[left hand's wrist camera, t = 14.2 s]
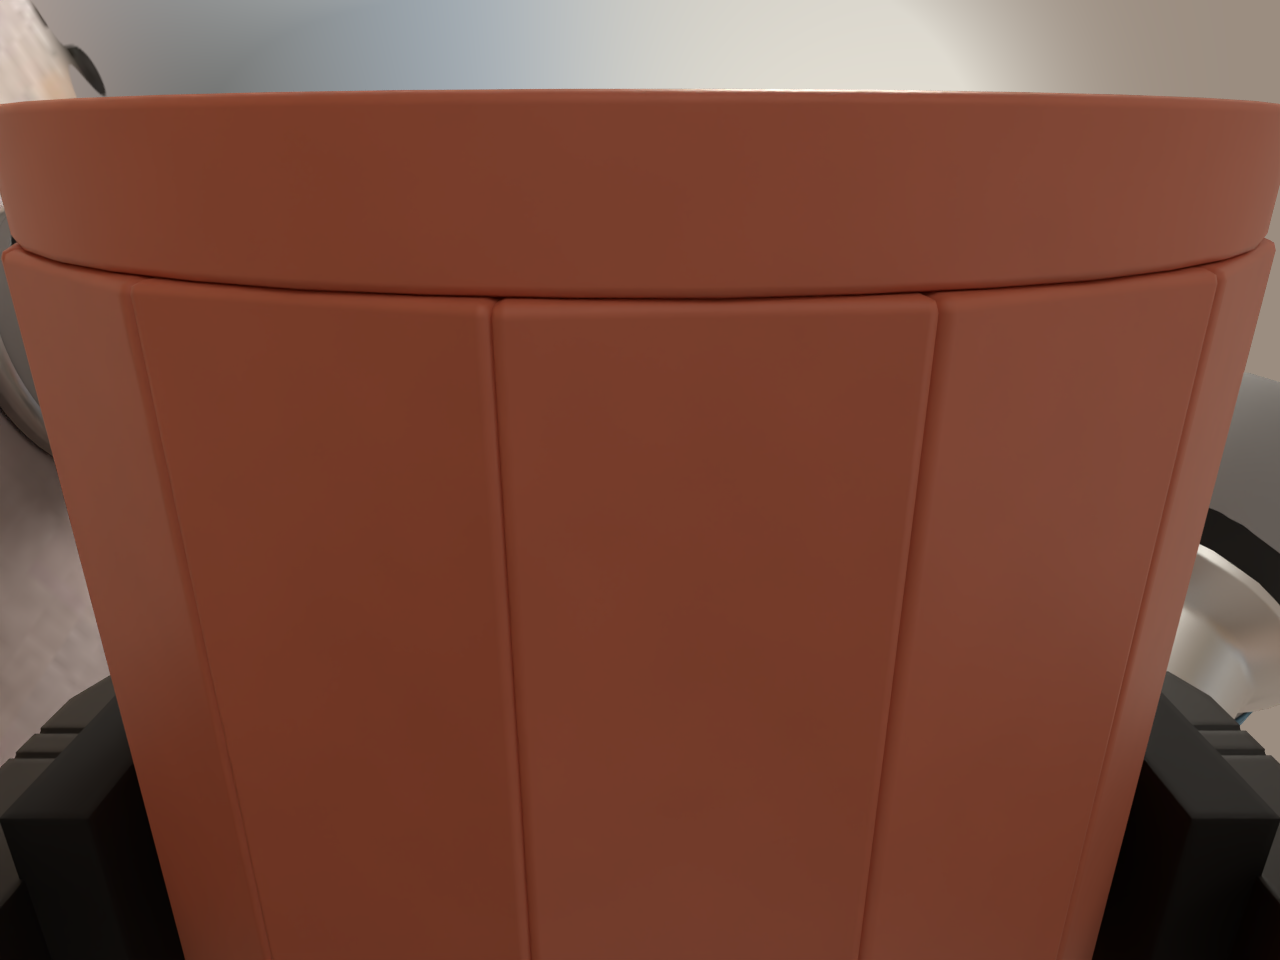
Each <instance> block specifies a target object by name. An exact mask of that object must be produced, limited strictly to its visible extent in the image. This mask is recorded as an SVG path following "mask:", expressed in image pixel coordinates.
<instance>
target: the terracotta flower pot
mask: <svg viewBox="0 0 1280 960" xmlns="http://www.w3.org/2000/svg"><path fill="white" fill-rule="evenodd" d="M1279 185H1280V104H1275V103H1267V102H1259V101H1245V100H1229V99H1214V98H1194V97H1169V96H1143V95H1114V94H1073V93H1033V92H977V91H911V90H802V89H801V90H800V89H798V90H797V89H497V90H387V91H320V92H261V93H222V94H181V95H148V96H122V97H97V98H73V99H57V100H41V101H25V102H16V103H8V104H0V194H1V197H2V201H3V205H4V209H5V213H6V217H7V221H8V225H9V229H10V233H11V235H12V237H13V238H14V239H15V240H16V243H15V244H13V245H12V246H10V247H9V248H7V249H6V250H4V251H3V252H2V257H1V260H2V263H3V267H4V271H5V275H6V279H7V283H8V286H9V290H10V294H11V298H12V302H13V305H14V309H15V313H16V317H17V321H18V324H19V328H20V332H21V336H22V340H23V343H24V347H25V351H26V355H27V359H28V363H29V366H30V370H31V374H32V378H33V382H34V385H35V389H36V393H37V397H38V401H39V404H40V408H41V412H42V416H43V420H44V424H45V427H46V431H47V435H48V439H49V443H50V446H51V450H52V454H53V458H54V462H55V465H56V469H57V473H58V477H59V481H60V484H61V488H62V492H63V496H64V500H65V504H66V507H67V511H68V515H69V519H70V523H71V526H72V530H73V534H74V538H75V542H76V545H77V549H78V553H79V557H80V561H81V565H82V568H83V572H84V576H85V580H86V584H87V587H88V591H89V595H90V599H91V603H92V606H93V610H94V614H95V618H96V622H97V626H98V629H99V633H100V637H101V641H102V645H103V648H104V652H105V656H106V660H107V664H108V667H109V671H110V675H111V679H112V683H113V686H114V690H115V694H116V698H117V702H118V706H119V709H120V713H121V717H122V721H123V725H124V728H125V732H126V736H127V740H128V744H129V747H130V751H131V755H132V759H133V763H134V767H135V770H136V774H137V778H138V782H139V786H140V789H141V793H142V797H143V801H144V805H145V808H146V812H147V816H148V820H149V824H150V828H151V831H152V835H153V839H154V843H155V847H156V850H157V854H158V858H159V862H160V866H161V869H162V873H163V877H164V881H165V885H166V888H167V892H168V896H169V900H170V904H171V908H172V911H173V915H174V919H175V923H176V927H177V930H178V934H179V938H180V942H181V946H182V949H183V953H184V957H185V960H1092V956H1093V952H1094V949H1095V945H1096V941H1097V937H1098V933H1099V929H1100V925H1101V922H1102V918H1103V914H1104V910H1105V906H1106V902H1107V898H1108V895H1109V891H1110V887H1111V883H1112V879H1113V875H1114V871H1115V868H1116V864H1117V860H1118V856H1119V852H1120V848H1121V844H1122V841H1123V837H1124V833H1125V829H1126V825H1127V821H1128V817H1129V814H1130V810H1131V806H1132V802H1133V798H1134V794H1135V790H1136V787H1137V783H1138V779H1139V775H1140V771H1141V767H1142V763H1143V760H1144V756H1145V752H1146V748H1147V744H1148V740H1149V736H1150V733H1151V729H1152V725H1153V721H1154V717H1155V713H1156V709H1157V706H1158V702H1159V698H1160V694H1161V690H1162V686H1163V682H1164V679H1165V675H1166V671H1167V667H1168V663H1169V659H1170V655H1171V652H1172V648H1173V644H1174V640H1175V636H1176V632H1177V628H1178V625H1179V621H1180V617H1181V613H1182V609H1183V605H1184V601H1185V598H1186V594H1187V590H1188V586H1189V582H1190V578H1191V574H1192V571H1193V567H1194V563H1195V559H1196V555H1197V551H1198V547H1199V544H1200V540H1201V536H1202V532H1203V528H1204V524H1205V520H1206V517H1207V513H1208V509H1209V505H1210V501H1211V497H1212V493H1213V490H1214V486H1215V482H1216V478H1217V474H1218V470H1219V466H1220V463H1221V459H1222V455H1223V451H1224V447H1225V443H1226V439H1227V436H1228V432H1229V428H1230V424H1231V420H1232V416H1233V412H1234V409H1235V405H1236V401H1237V397H1238V393H1239V389H1240V385H1241V382H1242V378H1243V374H1244V370H1245V366H1246V362H1247V358H1248V355H1249V351H1250V347H1251V343H1252V339H1253V335H1254V331H1255V328H1256V324H1257V320H1258V316H1259V312H1260V308H1261V304H1262V301H1263V297H1264V293H1265V289H1266V285H1267V281H1268V277H1269V274H1270V270H1271V266H1272V262H1273V258H1274V254H1275V245H1274V242H1272V241H1270V240H1268V239H1266V238H1264V237H1265V236H1266V234H1267V233H1268V229H1269V225H1270V221H1271V217H1272V213H1273V209H1274V205H1275V201H1276V197H1277V193H1278V189H1279Z"/></svg>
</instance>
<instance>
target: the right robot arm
mask: <svg viewBox="0 0 1280 960" xmlns="http://www.w3.org/2000/svg"><path fill="white" fill-rule="evenodd" d="M15 243H16V240H15V239H14V238H13V237H12V235H11V233H10V229H9V225H8V221H7V217H6V213H5V209H4V206H2V207H0V407H1V408H2V410H3V411H4V412H5V414H6V415H7V416H8V417H9V418H10V419H11V421H12V422H13V423H14V424H15V425H16V426H17V427H18V428H19V429H20V430H21V431H22V432H23V433H24V434H25V435H26V436H27V437H28V438H29V439H30V440H32V441H33V442H34V443H35V444H36V445H37V446H39V447H40V448H42V449H43V450H44V451H46V452H47V453H49V454H50V455H52V456H53V454H52V450H51V446H50V443H49V439H48V435H47V431H46V427H45V424H44V420H43V416H42V412H41V408H40V404H39V401H38V397H37V393H36V389H35V385H34V382H33V378H32V374H31V370H30V366H29V363H28V359H27V355H26V351H25V347H24V343H23V340H22V336H21V332H20V328H19V324H18V321H17V317H16V313H15V309H14V305H13V302H12V298H11V294H10V290H9V286H8V283H7V279H6V275H5V271H4V267H3V263H2V260H1V257H2V252H3V251H4V250H6V249H7V248H9V247H10V246H12V245H13V244H15ZM1167 671H1169V672H1170V673H1172V674H1174V675H1175V676H1177V677H1179V678H1181V679H1182V680H1184V681H1186V682H1187V683H1189V684H1191V685H1192V686H1194V687H1196V688H1198V689H1199V690H1201V691H1203V692H1204V693H1206V694H1208V695H1209V696H1211V697H1212V698H1213V699H1214V700H1215V701H1216V702H1217V703H1218V704H1219V705H1220V706H1221V707H1222V708H1223V709H1224V710H1225V711H1226V712H1227V713H1228V714H1229V715H1230V716H1231V717H1232V718H1233V719H1234V720H1235V721H1236V722H1237V723H1238V724H1239V725H1241V724H1242V723H1243V722H1244V721H1245V720H1246V718H1247V717H1248V716H1249V715H1250V714H1251V713H1252V712H1254V711H1260V710H1265V709H1269V708H1272V707H1274V706H1277V705H1279V704H1280V382H1277V381H1274V380H1271V379H1267V378H1264V377H1261V376H1257V375H1254V374H1251V373H1244V374H1243V378H1242V382H1241V385H1240V389H1239V393H1238V397H1237V401H1236V405H1235V409H1234V412H1233V416H1232V420H1231V424H1230V428H1229V432H1228V436H1227V439H1226V443H1225V447H1224V451H1223V455H1222V459H1221V463H1220V466H1219V470H1218V474H1217V478H1216V482H1215V486H1214V490H1213V493H1212V497H1211V501H1210V505H1209V509H1208V513H1207V517H1206V520H1205V524H1204V528H1203V532H1202V536H1201V540H1200V544H1199V547H1198V551H1197V555H1196V559H1195V563H1194V567H1193V571H1192V574H1191V578H1190V582H1189V586H1188V590H1187V594H1186V598H1185V601H1184V605H1183V609H1182V613H1181V617H1180V621H1179V625H1178V628H1177V632H1176V636H1175V640H1174V644H1173V648H1172V652H1171V655H1170V659H1169V663H1168V667H1167Z"/></svg>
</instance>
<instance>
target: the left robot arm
mask: <svg viewBox="0 0 1280 960" xmlns="http://www.w3.org/2000/svg"><path fill="white" fill-rule="evenodd" d="M0 960H185V957H184V953H183V949H182V946H181V942H180V938H179V934H178V930H177V927H176V923H175V919H174V915H173V911H172V908H171V904H170V900H169V896H168V892H167V888H166V885H165V881H164V877H163V873H162V869H161V866H160V862H159V858H158V854H157V850H156V847H155V843H154V839H153V835H152V831H151V828H150V824H149V820H148V816H147V812H146V808H145V805H144V801H143V797H142V793H141V789H140V786H139V782H138V778H137V774H136V770H135V767H134V763H133V759H132V755H131V751H130V747H129V744H128V740H127V736H126V732H125V728H124V725H123V721H122V717H121V713H120V709H119V706H118V702H117V698H116V694H115V690H114V686H113V683H112V679H111V675H110V676H108V677H106V678H105V679H103V680H101V681H100V682H98V683H96V684H95V685H93V686H91V687H90V688H88V689H86V690H85V691H83V692H81V693H79V694H78V695H76V696H74V697H73V698H71V699H70V700H69V701H68V702H67V703H66V704H65V705H64V706H63V707H62V708H61V709H60V710H59V711H58V712H57V713H56V714H54V715H53V716H52V717H51V718H50V719H49V720H48V721H47V722H46V723H45V724H44V725H43V726H42V727H41V732H40V734H34V735H33V736H32V737H31V738H30V739H29V740H28V741H27V742H26V743H25V744H24V745H23V746H22V747H21V748H20V749H19V750H18V751H17V752H16V757H15V759H9V760H8V761H7V762H6V763H5V764H4V765H3V766H2V767H1V768H0ZM1092 960H1280V764H1279V763H1278V762H1277V761H1276V760H1275V759H1274V758H1273V757H1272V756H1271V755H1266V754H1265V749H1264V748H1263V747H1262V746H1261V745H1260V744H1259V743H1258V742H1257V741H1256V740H1255V739H1254V738H1253V737H1252V736H1251V735H1250V734H1249V733H1248V732H1247V731H1241V730H1240V725H1239V724H1238V723H1237V722H1236V721H1235V720H1234V719H1233V718H1232V717H1231V716H1230V715H1229V714H1228V713H1227V712H1226V711H1225V710H1224V709H1223V708H1222V707H1221V706H1220V705H1219V704H1218V703H1217V702H1216V701H1215V700H1214V699H1213V698H1212V697H1211V696H1209V695H1208V694H1206V693H1204V692H1203V691H1201V690H1199V689H1198V688H1196V687H1194V686H1192V685H1191V684H1189V683H1187V682H1186V681H1184V680H1182V679H1181V678H1179V677H1177V676H1175V675H1174V674H1172V673H1170V672H1169V671H1166V675H1165V679H1164V682H1163V686H1162V690H1161V694H1160V698H1159V702H1158V706H1157V709H1156V713H1155V717H1154V721H1153V725H1152V729H1151V733H1150V736H1149V740H1148V744H1147V748H1146V752H1145V756H1144V760H1143V763H1142V767H1141V771H1140V775H1139V779H1138V783H1137V787H1136V790H1135V794H1134V798H1133V802H1132V806H1131V810H1130V814H1129V817H1128V821H1127V825H1126V829H1125V833H1124V837H1123V841H1122V844H1121V848H1120V852H1119V856H1118V860H1117V864H1116V868H1115V871H1114V875H1113V879H1112V883H1111V887H1110V891H1109V895H1108V898H1107V902H1106V906H1105V910H1104V914H1103V918H1102V922H1101V925H1100V929H1099V933H1098V937H1097V941H1096V945H1095V949H1094V952H1093V956H1092Z"/></svg>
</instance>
